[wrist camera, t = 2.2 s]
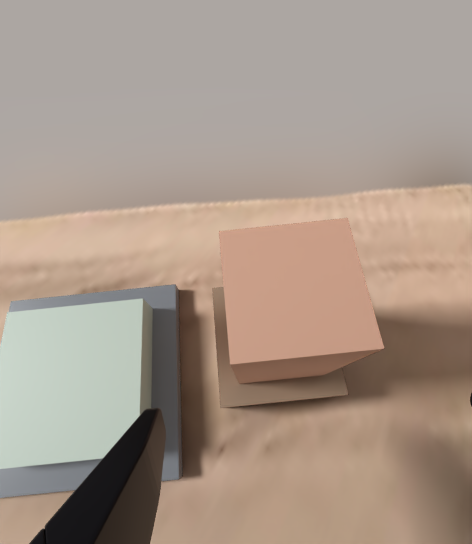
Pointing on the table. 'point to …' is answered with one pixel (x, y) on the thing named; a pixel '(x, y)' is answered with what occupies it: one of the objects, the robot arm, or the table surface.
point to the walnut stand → (266, 390)
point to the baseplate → (162, 394)
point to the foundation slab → (72, 380)
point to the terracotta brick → (295, 300)
